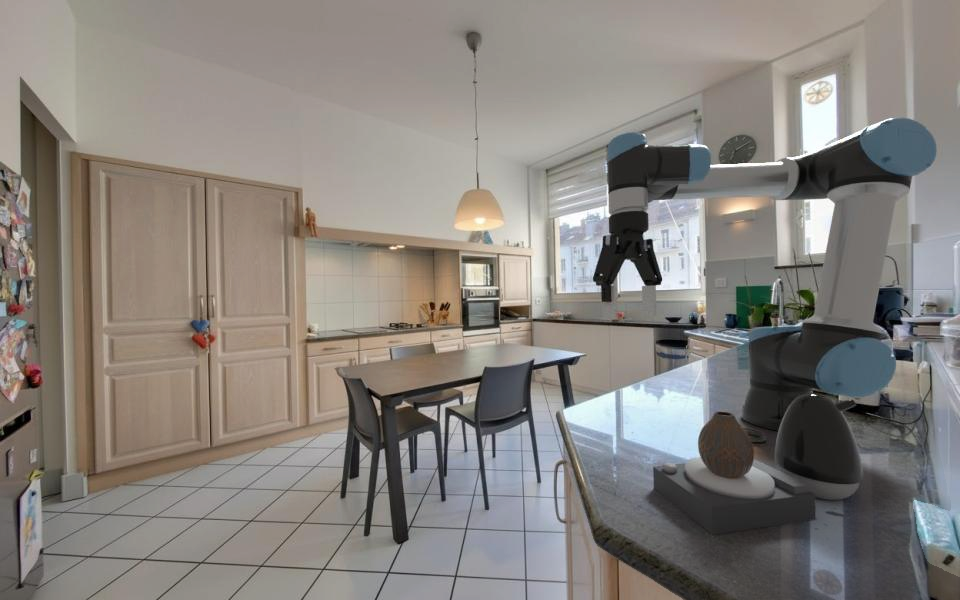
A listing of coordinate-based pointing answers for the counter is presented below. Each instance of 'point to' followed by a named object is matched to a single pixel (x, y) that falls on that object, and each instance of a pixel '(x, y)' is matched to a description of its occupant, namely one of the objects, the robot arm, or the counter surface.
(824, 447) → the pump dispenser
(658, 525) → the counter surface
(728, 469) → the vase
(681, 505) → the turntable with oval dome
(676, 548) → the counter surface
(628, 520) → the counter surface
